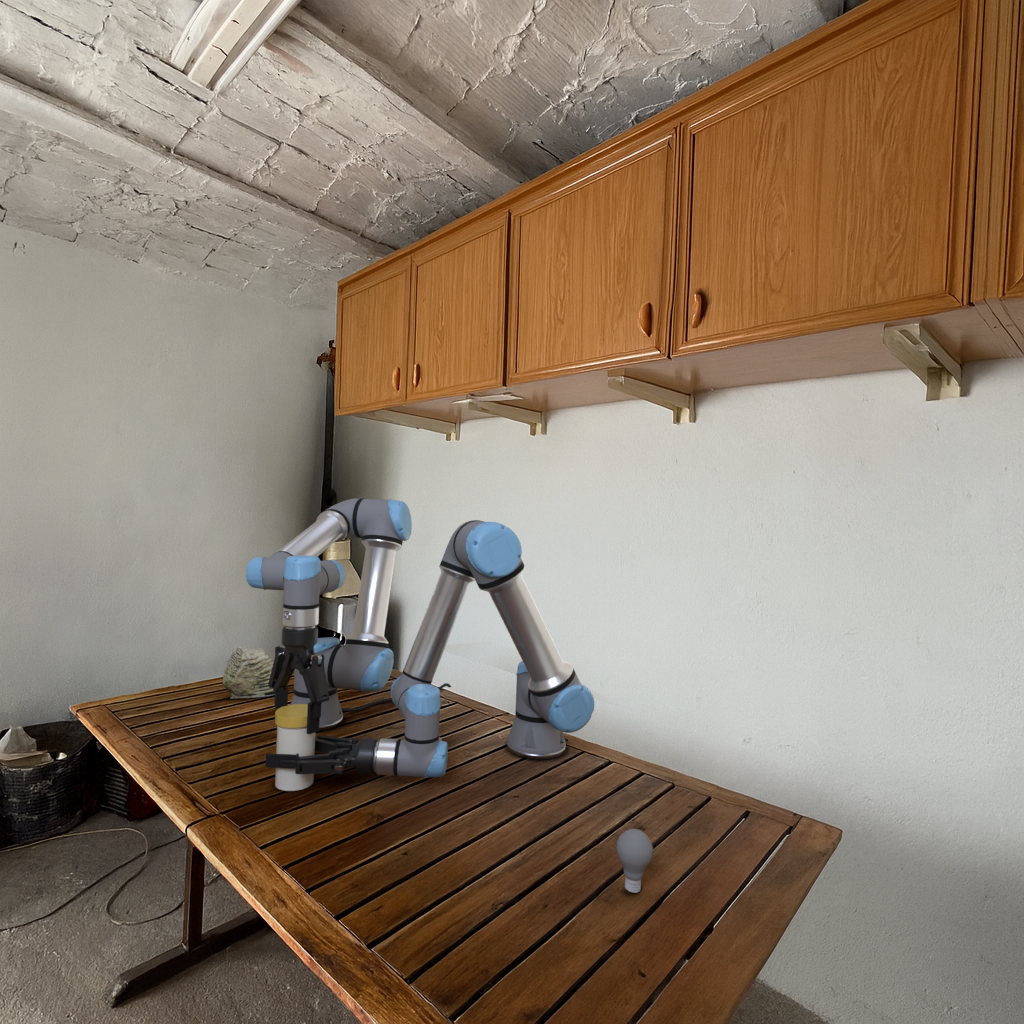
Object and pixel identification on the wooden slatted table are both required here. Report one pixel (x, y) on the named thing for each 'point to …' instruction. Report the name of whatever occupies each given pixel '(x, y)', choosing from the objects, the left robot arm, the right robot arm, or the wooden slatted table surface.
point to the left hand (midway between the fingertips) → (296, 726)
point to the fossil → (248, 673)
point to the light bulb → (634, 857)
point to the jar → (294, 744)
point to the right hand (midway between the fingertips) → (274, 752)
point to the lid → (292, 716)
